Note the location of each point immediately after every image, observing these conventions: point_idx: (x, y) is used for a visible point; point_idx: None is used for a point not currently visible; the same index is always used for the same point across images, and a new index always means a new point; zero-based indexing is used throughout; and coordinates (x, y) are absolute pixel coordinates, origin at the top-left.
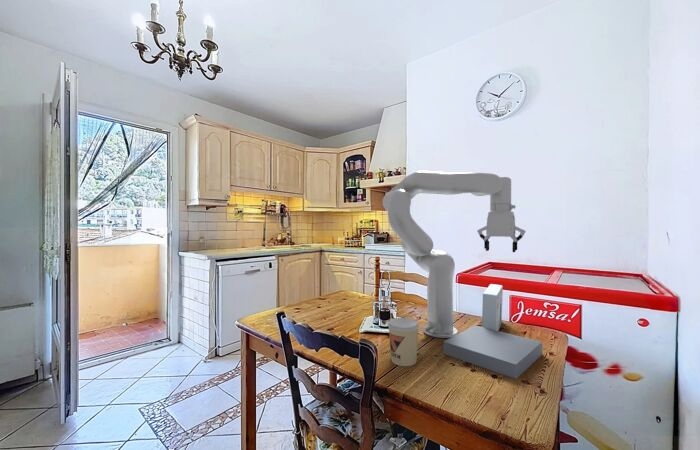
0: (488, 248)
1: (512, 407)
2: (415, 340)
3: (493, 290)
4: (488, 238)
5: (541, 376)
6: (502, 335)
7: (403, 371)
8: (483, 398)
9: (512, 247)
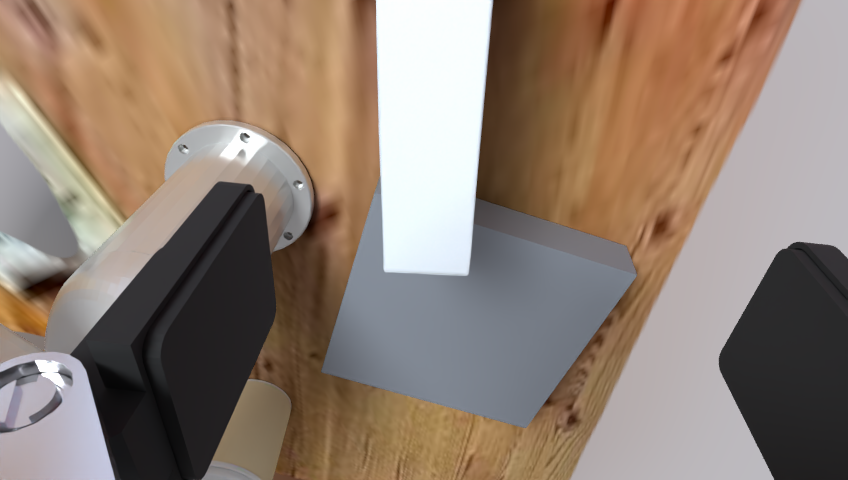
0: (255, 276)
1: (509, 470)
2: (276, 465)
3: (437, 151)
4: (100, 461)
5: (586, 370)
6: (494, 266)
7: (287, 434)
8: (459, 463)
9: (753, 434)
